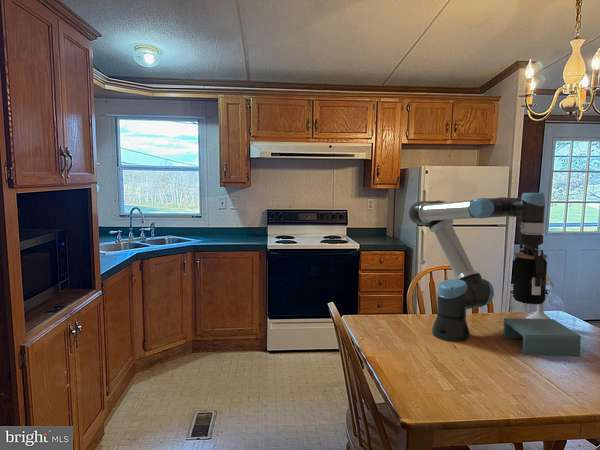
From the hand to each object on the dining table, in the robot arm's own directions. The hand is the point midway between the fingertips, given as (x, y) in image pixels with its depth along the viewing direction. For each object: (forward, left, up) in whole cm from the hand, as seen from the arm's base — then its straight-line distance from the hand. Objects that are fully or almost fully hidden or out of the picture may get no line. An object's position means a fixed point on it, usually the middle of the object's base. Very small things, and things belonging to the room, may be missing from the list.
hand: (529, 290), depth 146 cm
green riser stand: (+8, +6, -24) cm, 26 cm away
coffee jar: (0, 0, -4) cm, 4 cm away
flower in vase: (+21, +30, -24) cm, 44 cm away
